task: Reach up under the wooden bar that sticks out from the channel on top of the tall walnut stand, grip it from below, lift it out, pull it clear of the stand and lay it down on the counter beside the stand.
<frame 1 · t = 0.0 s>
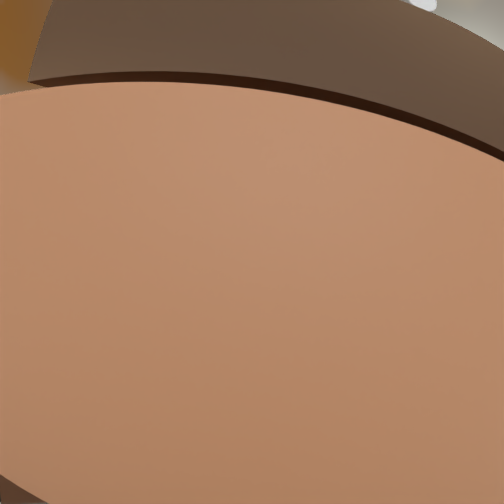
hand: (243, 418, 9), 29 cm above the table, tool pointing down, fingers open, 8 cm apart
bar: (208, 264, 5), point 32 cm above the table, touching stand
stand: (300, 192, 36), on the table
supplement bottle: (390, 29, 30), on the table
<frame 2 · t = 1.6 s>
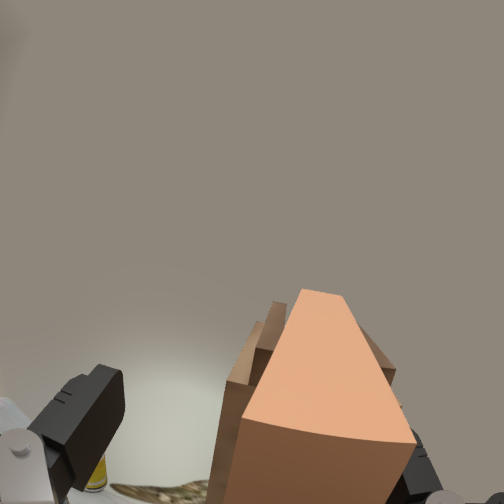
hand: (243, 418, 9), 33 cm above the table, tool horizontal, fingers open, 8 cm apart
bar: (310, 380, 16), point 32 cm above the table, touching gripper, stand
supplement bottle: (90, 481, 33), on the table
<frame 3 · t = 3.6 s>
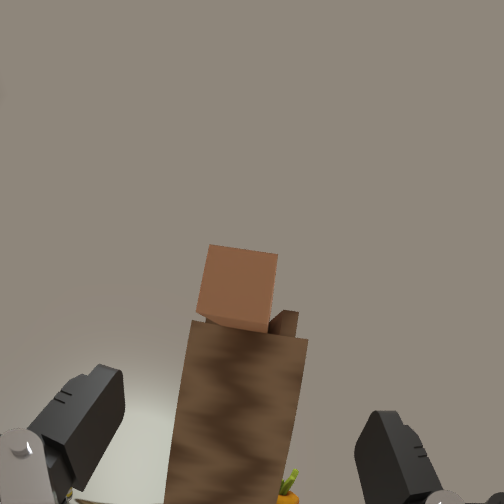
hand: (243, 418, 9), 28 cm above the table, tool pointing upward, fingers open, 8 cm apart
bar: (245, 331, 26), point 32 cm above the table, touching stand
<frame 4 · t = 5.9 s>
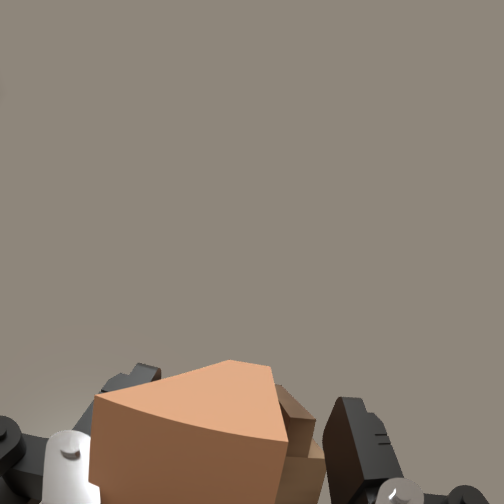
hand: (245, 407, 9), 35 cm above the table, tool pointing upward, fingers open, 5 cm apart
bar: (227, 436, 14), point 32 cm above the table, touching gripper, stand
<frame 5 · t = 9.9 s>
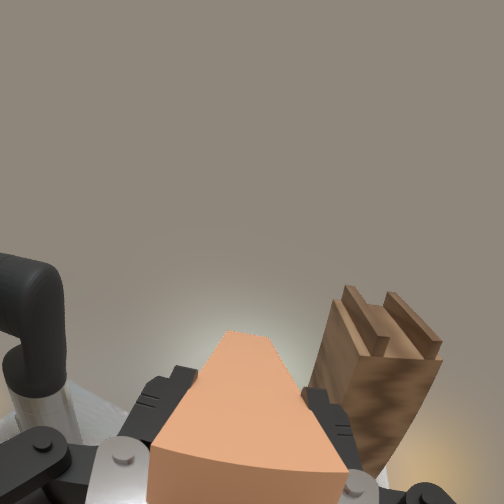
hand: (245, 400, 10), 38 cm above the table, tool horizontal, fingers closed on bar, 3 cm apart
bar: (236, 419, 15), point 33 cm above the table, tilted 22°, touching gripper
stand: (307, 495, 38), on the table
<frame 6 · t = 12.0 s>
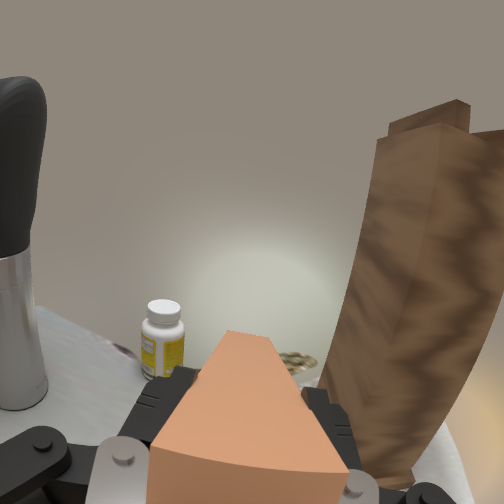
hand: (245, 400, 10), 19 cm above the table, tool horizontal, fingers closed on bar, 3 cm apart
bar: (236, 419, 15), point 14 cm above the table, tilted 23°, touching gripper
stand: (352, 443, 30), on the table
supplement bottle: (161, 373, 38), on the table
when the fingers open (7 cm above the table, at t = 14.0 s): bar drops 3 cm, on the table.
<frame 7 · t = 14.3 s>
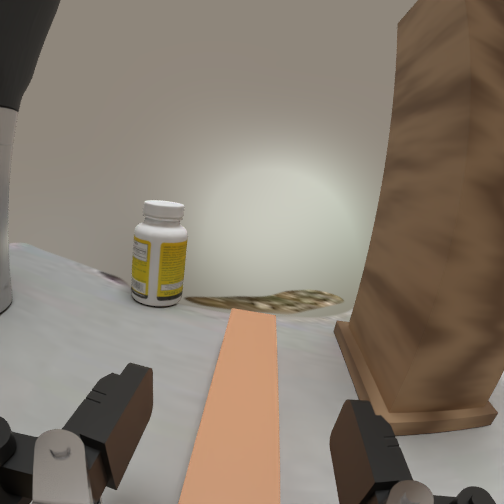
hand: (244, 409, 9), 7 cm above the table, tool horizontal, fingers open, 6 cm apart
bar: (234, 444, 15), on the table
stand: (406, 375, 23), on the table
supplement bottle: (156, 298, 32), on the table
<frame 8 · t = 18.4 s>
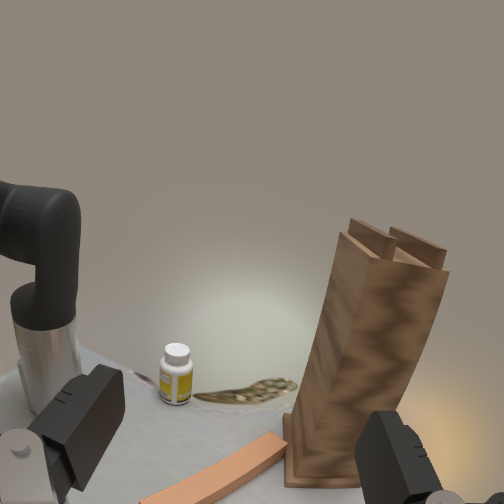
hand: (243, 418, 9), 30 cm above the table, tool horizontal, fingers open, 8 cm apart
bar: (219, 487, 32), on the table
stand: (318, 451, 40), on the table
supplement bottle: (175, 396, 49), on the table
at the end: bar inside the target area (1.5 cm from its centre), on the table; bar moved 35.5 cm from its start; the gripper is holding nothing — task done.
